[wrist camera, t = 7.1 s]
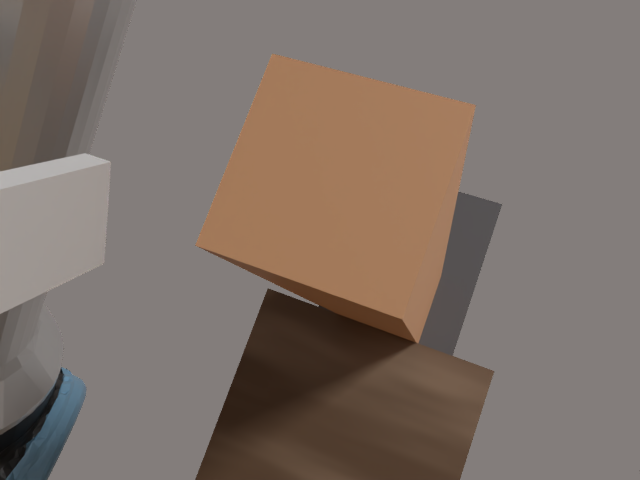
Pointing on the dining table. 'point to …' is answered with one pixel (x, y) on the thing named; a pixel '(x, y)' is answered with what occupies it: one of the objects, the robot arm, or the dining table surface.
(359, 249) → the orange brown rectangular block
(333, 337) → the stand
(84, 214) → the robot arm
